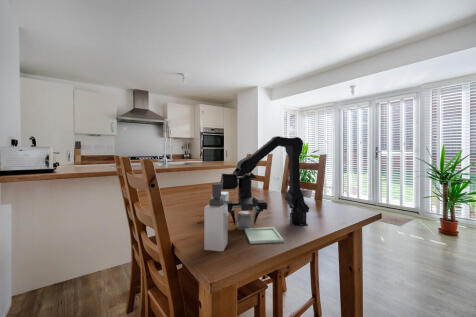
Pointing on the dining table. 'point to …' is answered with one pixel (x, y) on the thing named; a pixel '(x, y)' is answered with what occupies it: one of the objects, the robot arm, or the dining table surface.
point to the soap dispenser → (216, 221)
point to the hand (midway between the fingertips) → (244, 224)
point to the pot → (243, 220)
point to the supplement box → (223, 196)
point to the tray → (263, 235)
